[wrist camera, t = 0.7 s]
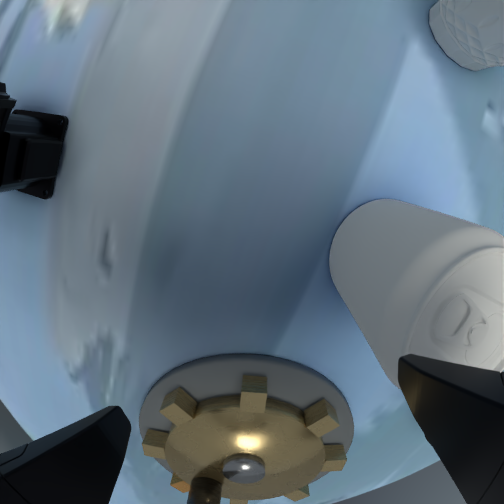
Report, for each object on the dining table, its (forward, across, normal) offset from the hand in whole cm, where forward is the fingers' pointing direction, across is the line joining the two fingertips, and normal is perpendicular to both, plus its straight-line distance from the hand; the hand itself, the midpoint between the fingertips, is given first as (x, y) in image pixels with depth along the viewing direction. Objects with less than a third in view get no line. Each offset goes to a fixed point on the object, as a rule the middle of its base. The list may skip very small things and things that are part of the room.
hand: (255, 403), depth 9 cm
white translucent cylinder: (+14, +21, +15) cm, 29 cm away
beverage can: (+14, +9, -1) cm, 16 cm away
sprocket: (+12, -5, -16) cm, 21 cm away
